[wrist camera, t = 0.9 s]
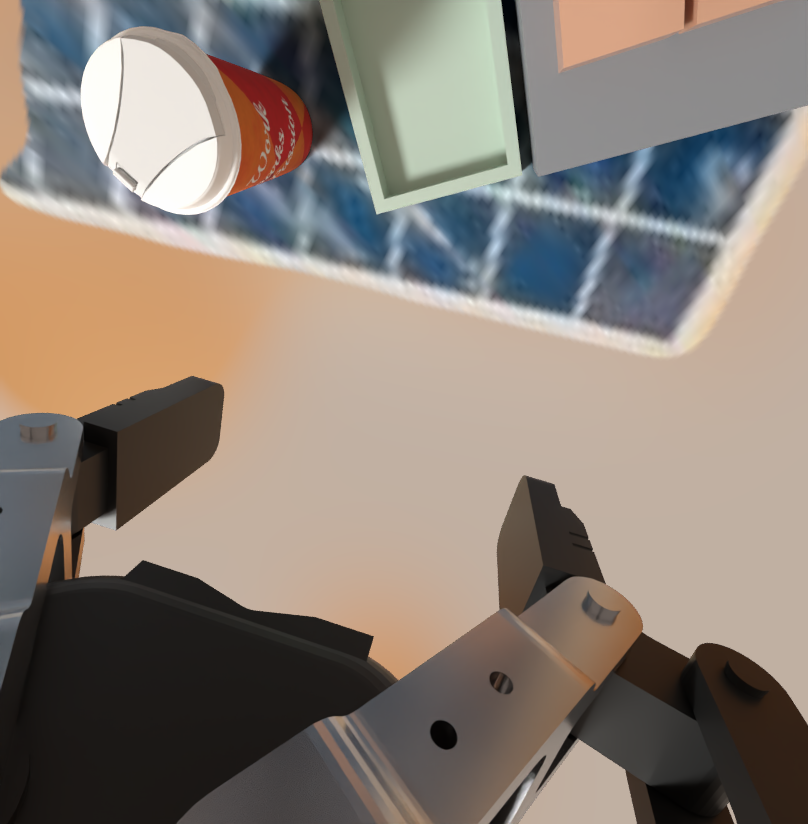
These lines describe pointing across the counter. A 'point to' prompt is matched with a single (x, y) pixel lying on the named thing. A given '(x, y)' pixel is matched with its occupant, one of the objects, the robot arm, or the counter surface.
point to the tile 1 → (611, 27)
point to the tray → (426, 94)
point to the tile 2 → (717, 11)
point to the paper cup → (188, 121)
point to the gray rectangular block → (659, 84)
